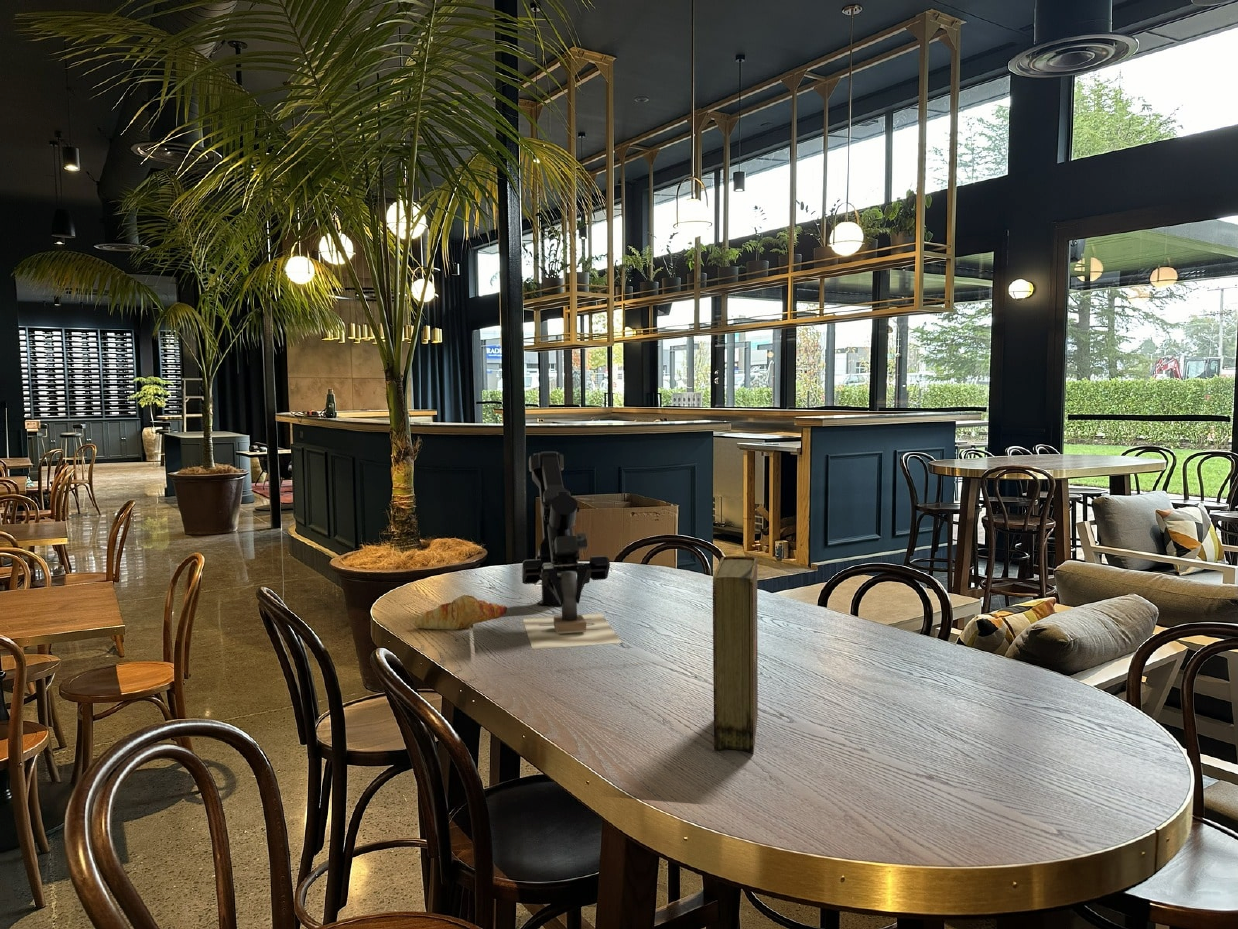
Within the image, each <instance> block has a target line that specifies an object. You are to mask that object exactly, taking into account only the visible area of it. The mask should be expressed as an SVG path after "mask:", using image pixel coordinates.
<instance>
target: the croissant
mask: <svg viewBox="0 0 1238 929" xmlns="http://www.w3.org/2000/svg"><path fill="white" fill-rule="evenodd" d="M507 611H508V606H506V605H503V604H500V605H499V604H497V603H493V602H489V603H488V602H486V601H485V600H481V599H480V600H479V599H477V598H475V597H474V596H472V595H469V594H462V595H460V596H459V597H456V598H455V599H453V601H451V602H447V603H442V604H440V605H438V607H436V608H433V609H431V610H429V611H425V612H424V613H422V614H421V616H418V617H414V619H413V621H412V622H413V626H415V627H417V628H420V629H425V630H426V629H427V630H440V629H441V630H442V631H443V630H447V631H451V630H454V631H455V630H461V629H469V627H471V628H473V627H474V624H477V623H481V622H485V621H490V620H494V619H498V618H501V617H503V616H504V615H505V614H507Z"/></svg>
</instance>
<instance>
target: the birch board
mask: <svg viewBox="0 0 1238 929" xmlns="http://www.w3.org/2000/svg"><path fill="white" fill-rule="evenodd" d="M581 615H582V617H583V618H584V620H585V621H586V632H573V633H559V634H558V633H557V631H556V629H555V627H554V616H545V617H544V616H543V617H530V618H522V622H523V624H524V628H525V630H526V634H527V636H528V640H529V643H530V645H531V649H532V650H541V649H542V650H543V649H555V648H556V649H559V648H570V647H572V648H573V647H584V646H585V647H588V646H598V645H614V644H623V642H622V641H621V639H620V638H619V636H618V635H617V633H616V632H615V631H614V629H613V628H612V627H611V625H610V624H609V622H608V621H607V619H606V618H605V617H604V615H603V614H602V613H589V614H581Z"/></svg>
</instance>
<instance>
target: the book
mask: <svg viewBox="0 0 1238 929" xmlns="http://www.w3.org/2000/svg"><path fill="white" fill-rule="evenodd" d="M712 654H713V655H712V659H713V660H712V664H713V665H712V666H713V667H712V672H713V673H712V674H713V675H712V676H713V679H712V680H713V683H712V684H713V692H712V693H713V750H714V751H720V750H730V749H731V750H739V751H744V752H748V753H752V754H754V753H755V743H756V737H757V725H758V717H759V716H758V714H759V709H758V706H759V705H758V704H759V703H758V701H759V700H758V699H759V697H758V696H759V694H758V693H759V692H758V690H759V689H758V687H759V686H758V683H759V682H758V680H759V679H758V678H759V677H758V676H759V675H758V668H759V667H758V665H759V664H758V660H759V659H758V654H759V653H758V557H754V556H747V555H746V556H745V555H731V556H730V555H728V556H722V557H721V558H720V559H719V562H718V565H717V566H716V569H715V571H714V574H713V576H712ZM755 736H756V737H755Z"/></svg>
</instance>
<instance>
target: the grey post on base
mask: <svg viewBox="0 0 1238 929" xmlns="http://www.w3.org/2000/svg"><path fill="white" fill-rule="evenodd" d="M576 579H577V574H576V572H575V571H564V572H561V593H562V600H563V604H562V606H561V615H554V616H553V617H554V627H555V629H556V631H557V633H558V634H559V633H573V632H586V621H585V620H584V618H583V617H582V615H583V614H578V604H577V591H576Z"/></svg>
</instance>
